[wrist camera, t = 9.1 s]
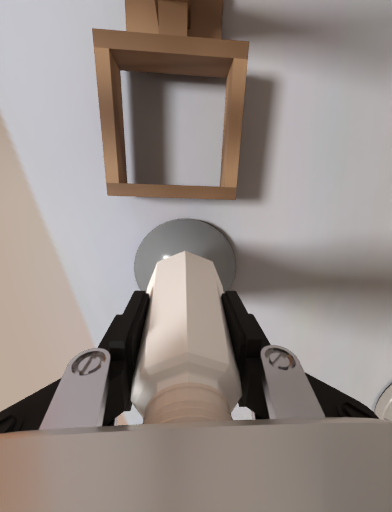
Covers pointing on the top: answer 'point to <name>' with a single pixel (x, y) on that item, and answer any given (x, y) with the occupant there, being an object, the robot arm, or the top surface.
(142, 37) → the ring stand
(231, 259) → the coaster
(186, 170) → the top surface
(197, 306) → the pepper shaker
